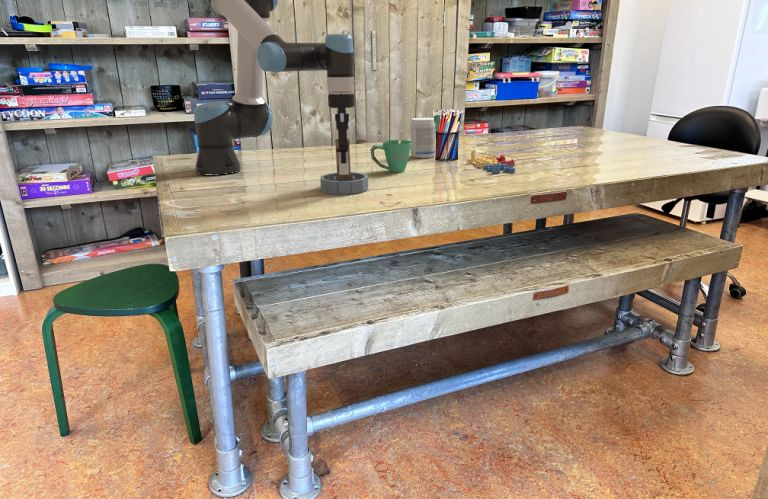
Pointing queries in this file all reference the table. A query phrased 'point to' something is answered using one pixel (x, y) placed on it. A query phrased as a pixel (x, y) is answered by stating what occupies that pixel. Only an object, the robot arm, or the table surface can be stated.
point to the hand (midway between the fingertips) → (344, 170)
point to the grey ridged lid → (344, 184)
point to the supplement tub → (422, 137)
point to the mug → (394, 154)
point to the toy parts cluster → (492, 163)
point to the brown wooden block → (338, 161)
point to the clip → (344, 179)
